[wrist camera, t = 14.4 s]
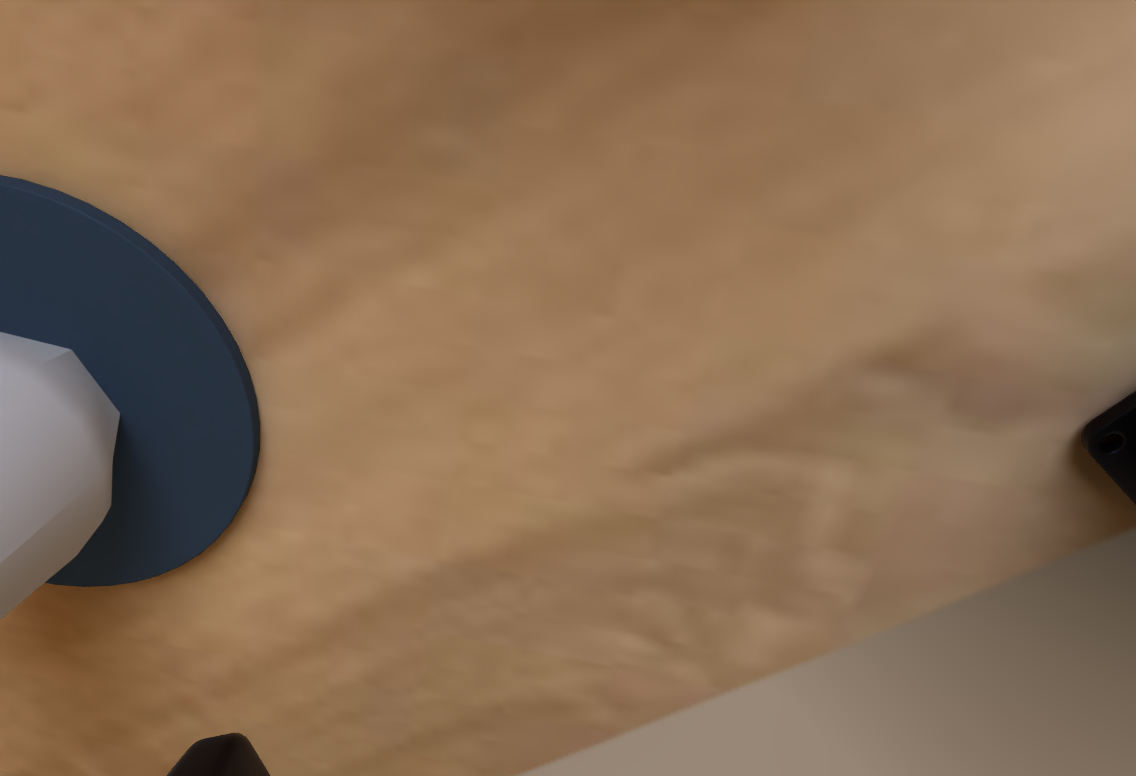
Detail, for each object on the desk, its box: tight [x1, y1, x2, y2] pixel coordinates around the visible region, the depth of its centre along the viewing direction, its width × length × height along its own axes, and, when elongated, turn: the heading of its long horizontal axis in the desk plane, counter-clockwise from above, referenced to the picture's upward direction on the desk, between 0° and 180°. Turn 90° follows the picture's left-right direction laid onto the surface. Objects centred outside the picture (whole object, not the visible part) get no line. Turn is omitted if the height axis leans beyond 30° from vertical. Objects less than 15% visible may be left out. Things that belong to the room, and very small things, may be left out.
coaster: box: [0, 175, 260, 587], centre depth 22 cm, size 11×11×1 cm
